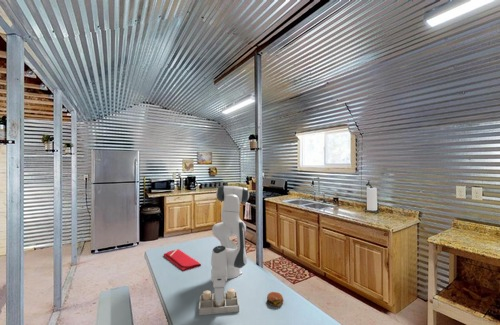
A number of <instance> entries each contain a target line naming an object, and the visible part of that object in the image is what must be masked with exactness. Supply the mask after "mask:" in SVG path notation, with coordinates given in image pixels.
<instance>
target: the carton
mask: <svg viewBox="0 0 500 325" xmlns="http://www.w3.org/2000/svg"><path fill="white" fill-rule="evenodd" d="M199 296H200V297H199V304H198V316H204V315H213V314H215V315H216V314H227V313H236V312H237V313H239V312H240V302H239V301H240V300H239V297H238V291H235V298H234V299H227V292H224V306H223V307H215V292H214V293H211V300H209V301H203V293H202V294H201V293H200V295H199Z"/></svg>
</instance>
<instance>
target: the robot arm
mask: <svg viewBox="0 0 500 325" xmlns="http://www.w3.org/2000/svg"><path fill="white" fill-rule="evenodd" d="M249 198H250V191H249V189H248V188H247V187H244V186H243V187H242V186H237V185H219V186H218V187H217V189H216V199H217V200H218V201H219V202H221V203H222V209H221V215H220V216H221V217H220V219H221V221H220V222H218V223H214V224H213V226H212V228H211V232H212V235H213V236H214V237H215V238H216V239H217V240H218V241H219V242H220V245H216V246H214V247H213V249H212V251H211V256H210V257H211V260H210V261H211V262H210V265H211V274H210V275H211V278H210V281H211V282H212V286H213V288H214V290H213V291H214V293H215V299H216V303H218V305H221V302H223V298H224V293H225V287H226V285H227V284H226V283H227V280H228V279H235V278H237V277H239V276H241V275H242V274H243V272H242V270H241V269H242V268H243V267H244V266H246V264H247V262H248V256H247V246H246V231H247V225H246V223H245V222H244V221H243V220H242V219H241V217H240V211H241V206H240V205H241V204H244V203H247V202H248V201H249ZM240 203H241V204H240ZM231 237H236V239H237V240H236V241H237V243H236V242H235V241H234V240H231V239H230V238H231Z"/></svg>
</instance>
